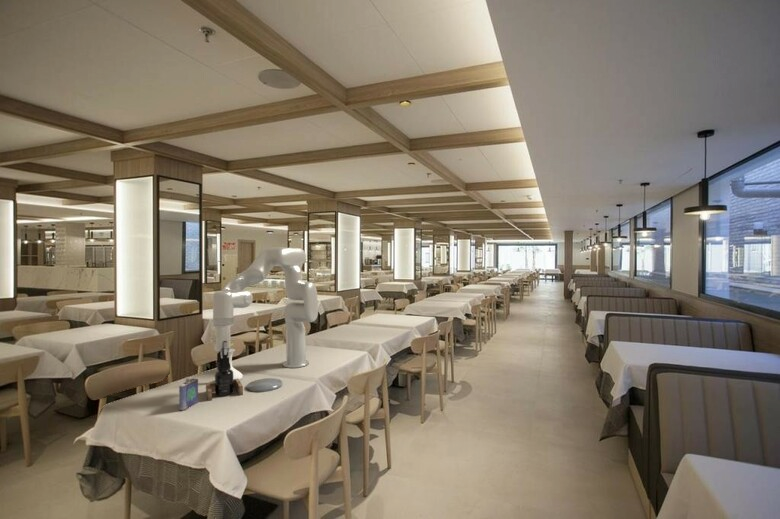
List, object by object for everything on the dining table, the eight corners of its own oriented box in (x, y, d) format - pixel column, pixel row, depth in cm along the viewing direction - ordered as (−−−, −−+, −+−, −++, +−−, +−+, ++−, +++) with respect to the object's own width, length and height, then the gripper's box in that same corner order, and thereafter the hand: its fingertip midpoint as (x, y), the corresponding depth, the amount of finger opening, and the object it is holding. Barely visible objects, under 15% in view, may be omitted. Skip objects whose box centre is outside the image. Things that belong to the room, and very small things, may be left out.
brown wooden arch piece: (205, 392, 157) (205, 383, 157) (238, 386, 163) (238, 378, 163) (208, 400, 147) (208, 391, 147) (242, 394, 154) (242, 386, 154)
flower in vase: (239, 376, 179) (239, 321, 178) (245, 382, 169) (245, 325, 169) (208, 381, 171) (208, 324, 171) (213, 388, 162) (212, 328, 162)
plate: (244, 384, 166) (244, 381, 166) (277, 379, 173) (277, 376, 173) (250, 394, 154) (250, 391, 154) (285, 388, 161) (285, 385, 161)
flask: (184, 411, 138) (183, 381, 138) (176, 411, 138) (176, 381, 138) (199, 401, 147) (199, 373, 147) (192, 401, 147) (192, 373, 147)
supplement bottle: (215, 392, 157) (214, 362, 157) (233, 390, 159) (233, 361, 159) (214, 398, 150) (214, 367, 150) (233, 395, 153) (233, 365, 153)
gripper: (210, 320, 160) (210, 361, 160) (215, 325, 145) (215, 371, 145) (230, 319, 164) (230, 359, 164) (236, 324, 149) (236, 369, 149)
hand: (223, 365), depth 154 cm, fingers open, 9 cm apart
